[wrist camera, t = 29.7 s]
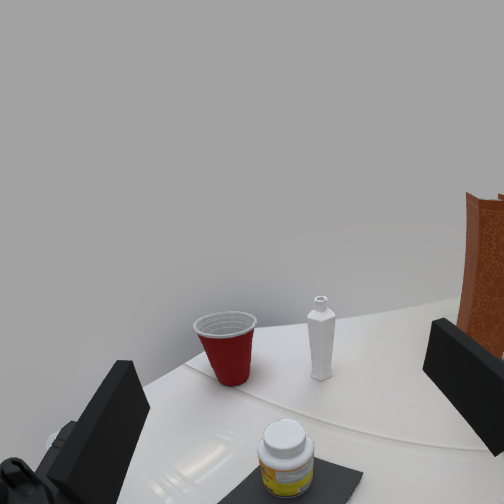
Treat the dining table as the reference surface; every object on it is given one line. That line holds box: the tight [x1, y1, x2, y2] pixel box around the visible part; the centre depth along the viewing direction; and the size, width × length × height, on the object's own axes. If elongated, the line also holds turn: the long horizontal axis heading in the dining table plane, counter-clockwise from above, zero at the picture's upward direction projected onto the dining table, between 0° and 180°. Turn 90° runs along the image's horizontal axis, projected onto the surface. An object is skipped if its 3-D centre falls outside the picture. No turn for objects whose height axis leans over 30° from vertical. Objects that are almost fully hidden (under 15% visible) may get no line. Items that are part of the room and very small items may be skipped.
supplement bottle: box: [258, 420, 314, 498], centre depth 23 cm, size 6×6×10 cm
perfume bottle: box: [307, 296, 336, 381], centre depth 45 cm, size 5×4×15 cm
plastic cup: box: [193, 311, 257, 386], centre depth 48 cm, size 11×11×12 cm
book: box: [457, 192, 504, 359], centre depth 37 cm, size 23×8×30 cm, turn 142°
